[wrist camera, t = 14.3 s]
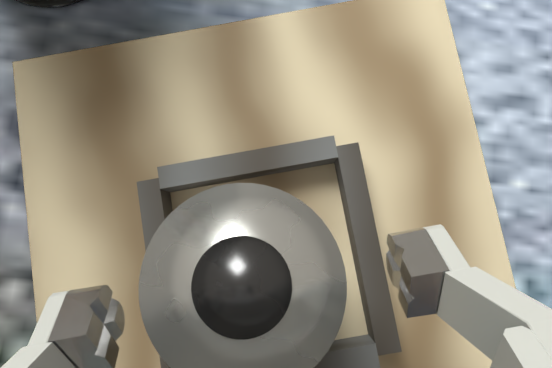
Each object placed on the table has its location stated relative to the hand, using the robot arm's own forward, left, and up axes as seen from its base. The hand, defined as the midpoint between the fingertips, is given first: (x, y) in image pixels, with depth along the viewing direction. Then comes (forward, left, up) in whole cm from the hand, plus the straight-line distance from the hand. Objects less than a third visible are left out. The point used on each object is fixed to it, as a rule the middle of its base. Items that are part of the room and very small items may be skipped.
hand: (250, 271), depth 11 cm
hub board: (0, 0, -8) cm, 8 cm away
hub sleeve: (0, 0, -7) cm, 7 cm away
